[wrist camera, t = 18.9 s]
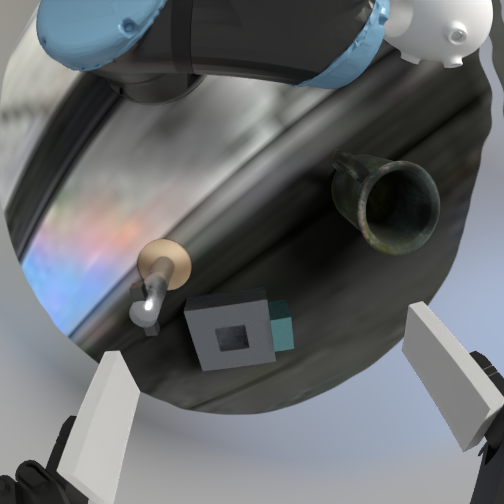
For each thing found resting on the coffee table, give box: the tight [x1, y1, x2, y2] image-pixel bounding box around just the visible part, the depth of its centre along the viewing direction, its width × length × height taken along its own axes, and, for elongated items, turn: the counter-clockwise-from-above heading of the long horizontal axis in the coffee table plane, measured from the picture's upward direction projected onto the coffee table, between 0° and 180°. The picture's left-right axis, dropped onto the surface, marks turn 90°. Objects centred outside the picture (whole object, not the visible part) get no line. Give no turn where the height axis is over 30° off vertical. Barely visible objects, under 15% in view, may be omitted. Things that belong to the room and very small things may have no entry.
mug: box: [329, 148, 440, 256], centre depth 37 cm, size 11×15×12 cm
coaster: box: [138, 239, 191, 290], centre depth 45 cm, size 8×8×1 cm
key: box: [129, 256, 175, 336], centre depth 39 cm, size 3×6×13 cm, turn 8°
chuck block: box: [184, 286, 294, 371], centre depth 48 cm, size 12×15×5 cm
